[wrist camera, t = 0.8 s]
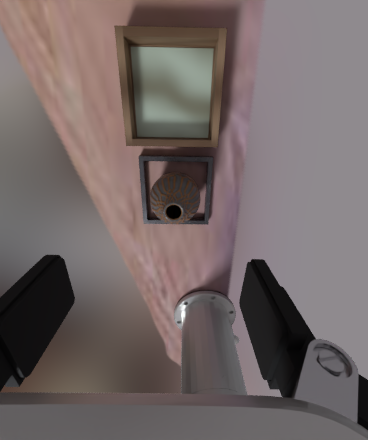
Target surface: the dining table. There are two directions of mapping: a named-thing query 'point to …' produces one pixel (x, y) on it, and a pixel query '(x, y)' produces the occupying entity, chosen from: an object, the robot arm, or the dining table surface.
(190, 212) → the vase
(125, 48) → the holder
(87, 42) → the dining table surface
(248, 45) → the dining table surface
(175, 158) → the trivet frame
